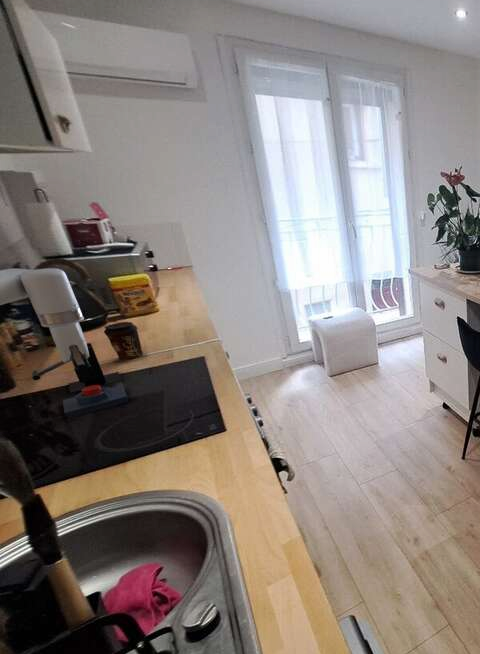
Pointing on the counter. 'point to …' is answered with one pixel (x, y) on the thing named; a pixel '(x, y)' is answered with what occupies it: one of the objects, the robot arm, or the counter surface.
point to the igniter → (94, 401)
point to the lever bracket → (98, 372)
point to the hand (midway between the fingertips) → (88, 380)
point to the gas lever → (46, 370)
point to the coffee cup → (124, 340)
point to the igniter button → (91, 390)
